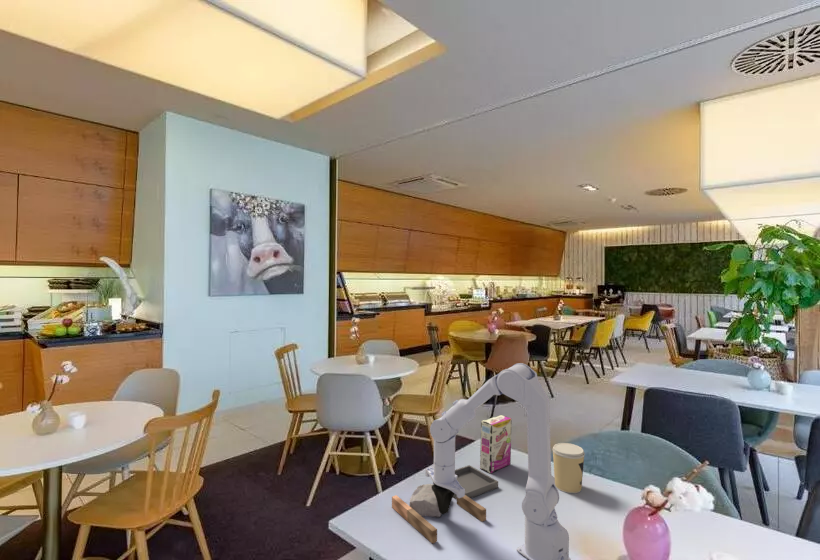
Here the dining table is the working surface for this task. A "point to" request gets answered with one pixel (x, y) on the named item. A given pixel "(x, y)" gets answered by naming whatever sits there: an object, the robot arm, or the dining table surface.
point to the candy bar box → (495, 443)
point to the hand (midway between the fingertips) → (443, 512)
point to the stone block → (425, 501)
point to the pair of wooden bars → (424, 525)
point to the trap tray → (474, 481)
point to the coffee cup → (568, 467)
